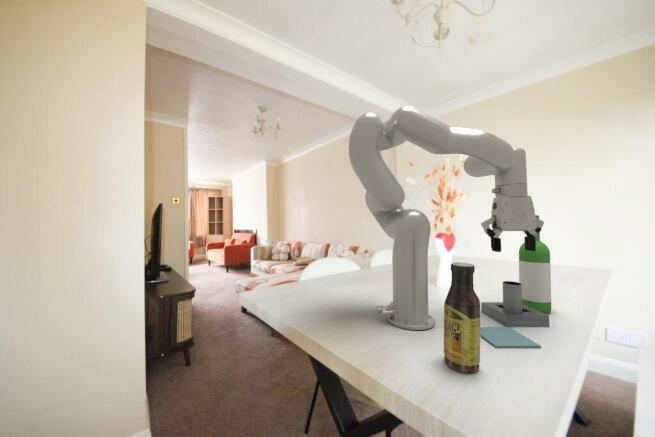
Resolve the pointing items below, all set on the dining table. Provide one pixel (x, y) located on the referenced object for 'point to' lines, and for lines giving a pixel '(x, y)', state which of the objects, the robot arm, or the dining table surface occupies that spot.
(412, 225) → the robot arm
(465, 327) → the sauce bottle
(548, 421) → the dining table surface
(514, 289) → the grey cylinder
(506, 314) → the socket block
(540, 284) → the wine bottle
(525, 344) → the mat
